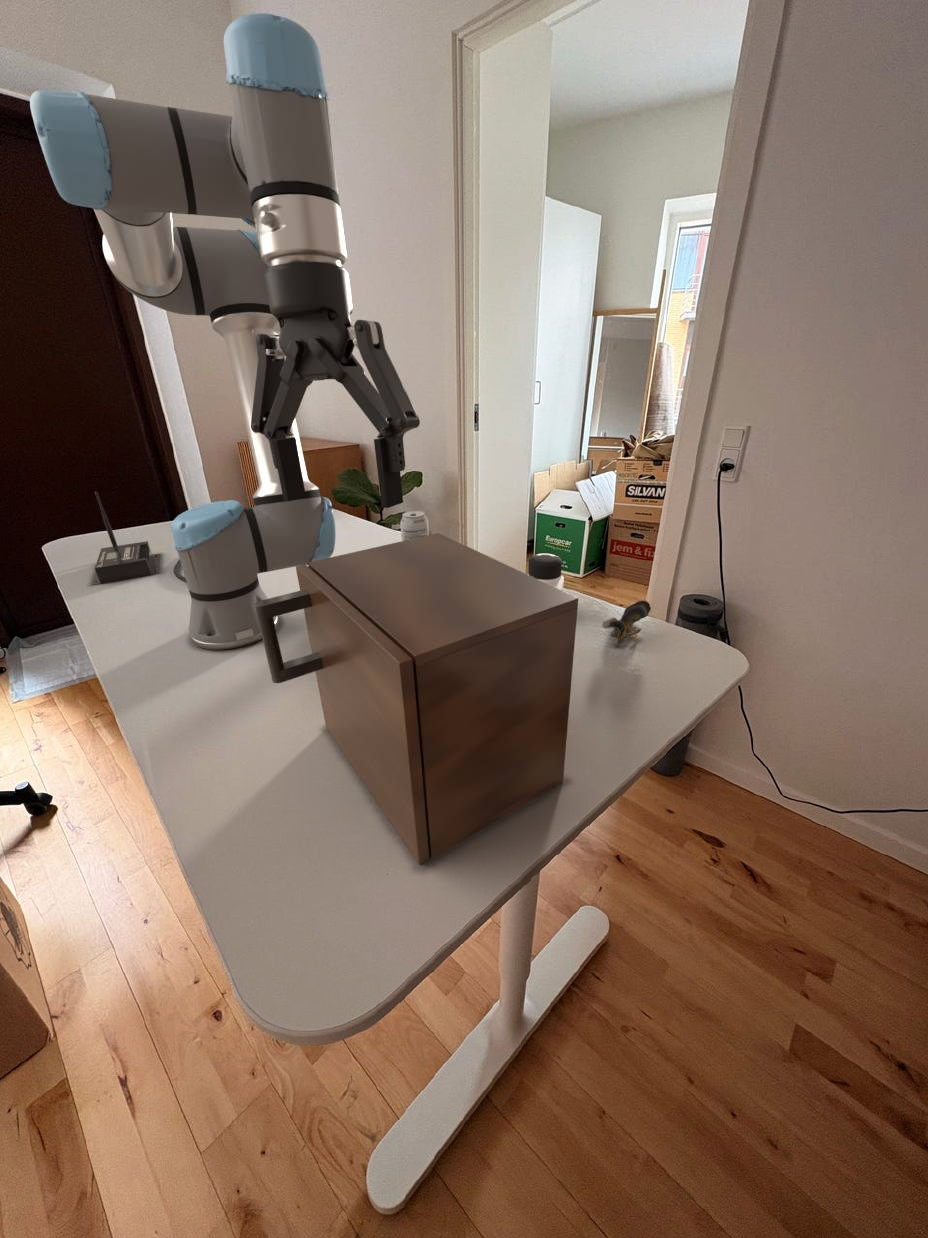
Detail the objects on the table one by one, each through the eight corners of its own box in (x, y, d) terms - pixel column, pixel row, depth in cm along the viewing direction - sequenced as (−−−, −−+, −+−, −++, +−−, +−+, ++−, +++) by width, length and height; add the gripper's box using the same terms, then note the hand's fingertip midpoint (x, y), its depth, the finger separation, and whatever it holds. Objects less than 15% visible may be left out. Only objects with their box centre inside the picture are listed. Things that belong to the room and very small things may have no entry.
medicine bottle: (560, 625, 95) (564, 565, 90) (522, 622, 97) (523, 563, 91) (562, 608, 101) (565, 551, 96) (525, 606, 103) (527, 549, 97)
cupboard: (431, 859, 52) (415, 656, 41) (336, 724, 71) (307, 562, 60) (563, 782, 61) (578, 598, 50) (446, 681, 80) (438, 532, 69)
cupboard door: (365, 896, 48) (328, 688, 37) (283, 744, 68) (243, 578, 57) (429, 859, 52) (412, 658, 41) (334, 724, 71) (305, 564, 60)
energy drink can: (433, 573, 120) (429, 509, 113) (429, 583, 114) (425, 517, 107) (408, 573, 120) (402, 509, 113) (402, 583, 115) (396, 517, 108)
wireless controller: (159, 573, 124) (136, 503, 116) (91, 585, 119) (63, 512, 111) (159, 549, 140) (139, 486, 132) (100, 559, 134) (75, 493, 127)
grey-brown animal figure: (652, 648, 85) (660, 616, 91) (631, 615, 83) (640, 585, 89) (611, 659, 90) (621, 628, 96) (590, 628, 88) (602, 599, 94)
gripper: (181, 281, 49) (234, 503, 58) (394, 232, 38) (419, 516, 47) (244, 290, 55) (283, 490, 64) (444, 251, 44) (459, 500, 53)
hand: (341, 502), depth 55 cm, fingers open, 13 cm apart
